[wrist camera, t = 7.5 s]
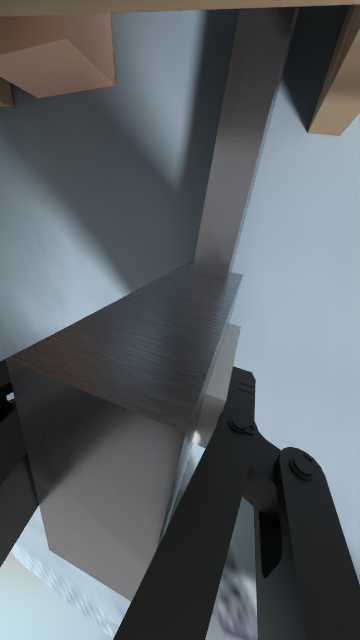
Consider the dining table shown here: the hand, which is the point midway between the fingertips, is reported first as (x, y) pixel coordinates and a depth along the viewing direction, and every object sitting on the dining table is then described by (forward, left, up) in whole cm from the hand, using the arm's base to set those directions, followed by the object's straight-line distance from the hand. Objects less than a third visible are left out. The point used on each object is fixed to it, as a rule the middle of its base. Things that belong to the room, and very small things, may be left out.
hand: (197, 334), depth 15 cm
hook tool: (+7, +3, -2) cm, 7 cm away
